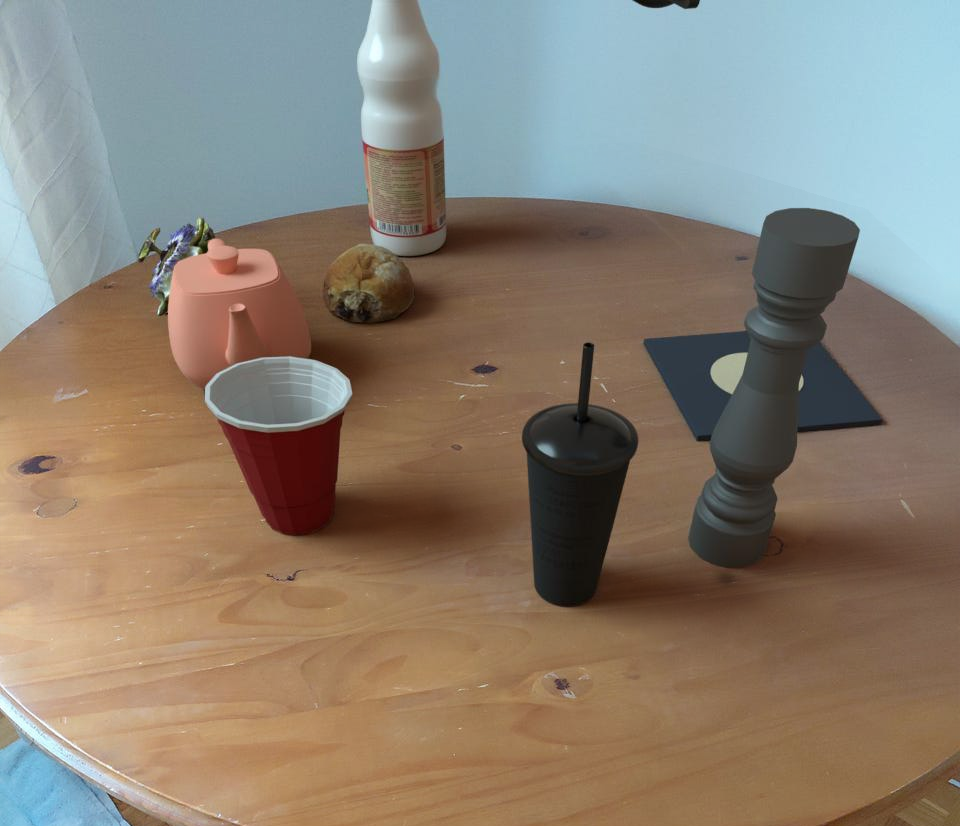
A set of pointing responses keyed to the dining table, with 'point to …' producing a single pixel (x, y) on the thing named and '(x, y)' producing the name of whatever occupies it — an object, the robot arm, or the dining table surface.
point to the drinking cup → (575, 490)
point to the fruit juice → (402, 130)
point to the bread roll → (368, 285)
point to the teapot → (232, 312)
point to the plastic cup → (284, 435)
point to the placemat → (719, 366)
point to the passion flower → (174, 256)
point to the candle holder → (770, 381)
